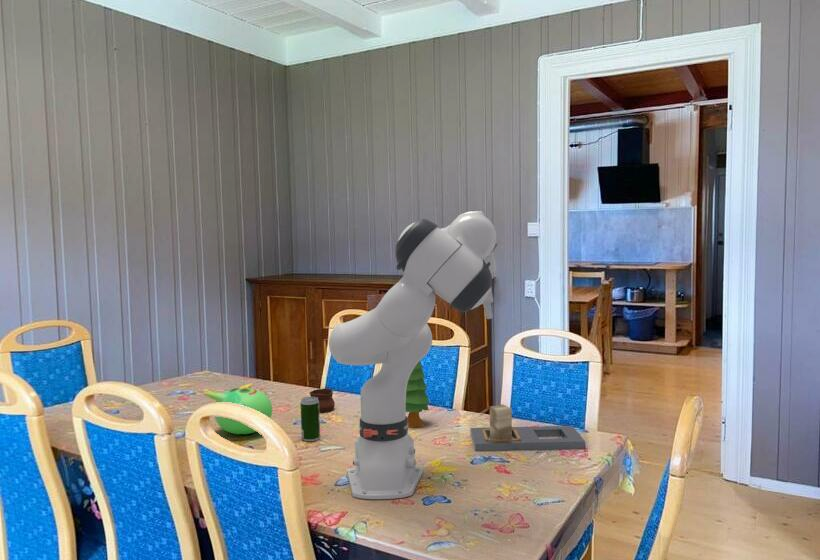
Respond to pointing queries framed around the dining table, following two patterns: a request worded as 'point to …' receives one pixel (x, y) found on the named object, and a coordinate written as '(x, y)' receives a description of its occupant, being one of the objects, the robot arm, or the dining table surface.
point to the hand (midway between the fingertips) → (489, 316)
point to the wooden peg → (500, 422)
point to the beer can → (310, 419)
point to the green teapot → (242, 397)
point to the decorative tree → (416, 396)
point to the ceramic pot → (324, 399)
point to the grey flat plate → (529, 439)
